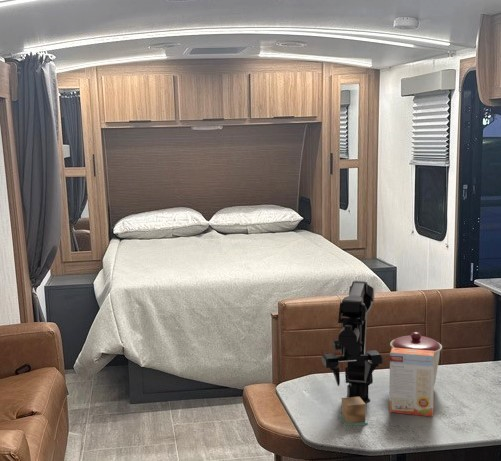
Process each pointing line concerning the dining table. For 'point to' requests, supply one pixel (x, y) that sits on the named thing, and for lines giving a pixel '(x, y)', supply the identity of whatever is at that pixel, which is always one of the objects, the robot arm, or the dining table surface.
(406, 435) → the dining table surface
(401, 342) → the canister
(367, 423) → the teal pad
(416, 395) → the cracker box
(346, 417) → the walnut cube
